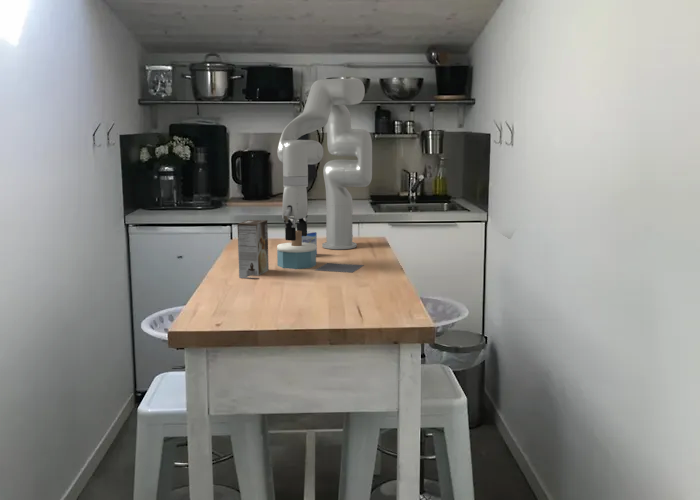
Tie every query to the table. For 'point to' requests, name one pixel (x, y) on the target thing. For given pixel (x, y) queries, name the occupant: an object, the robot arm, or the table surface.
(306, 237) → the medicine box
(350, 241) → the robot arm
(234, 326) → the table surface
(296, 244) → the lid
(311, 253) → the pot
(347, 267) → the mat
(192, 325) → the table surface
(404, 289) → the table surface
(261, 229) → the coffee box
